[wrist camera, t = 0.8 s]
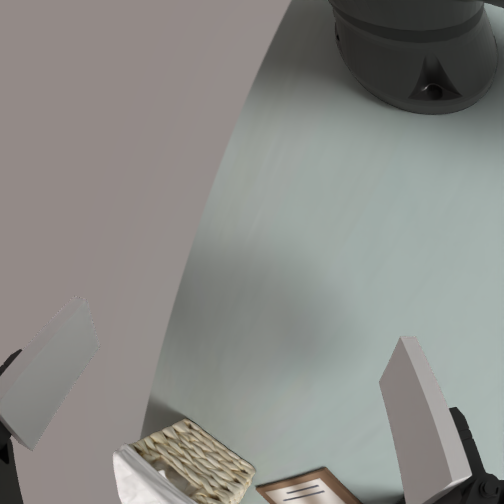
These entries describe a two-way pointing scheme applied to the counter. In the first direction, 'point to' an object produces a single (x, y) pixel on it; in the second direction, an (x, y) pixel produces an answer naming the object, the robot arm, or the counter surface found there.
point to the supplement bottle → (402, 502)
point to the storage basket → (180, 469)
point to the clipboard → (308, 490)
